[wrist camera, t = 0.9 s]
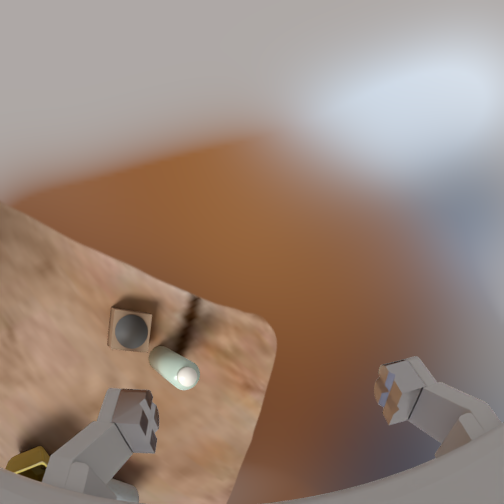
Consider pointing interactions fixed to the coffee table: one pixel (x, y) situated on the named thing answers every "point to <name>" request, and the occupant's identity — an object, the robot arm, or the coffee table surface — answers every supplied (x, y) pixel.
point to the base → (129, 330)
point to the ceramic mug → (123, 491)
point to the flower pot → (30, 463)
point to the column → (174, 367)
